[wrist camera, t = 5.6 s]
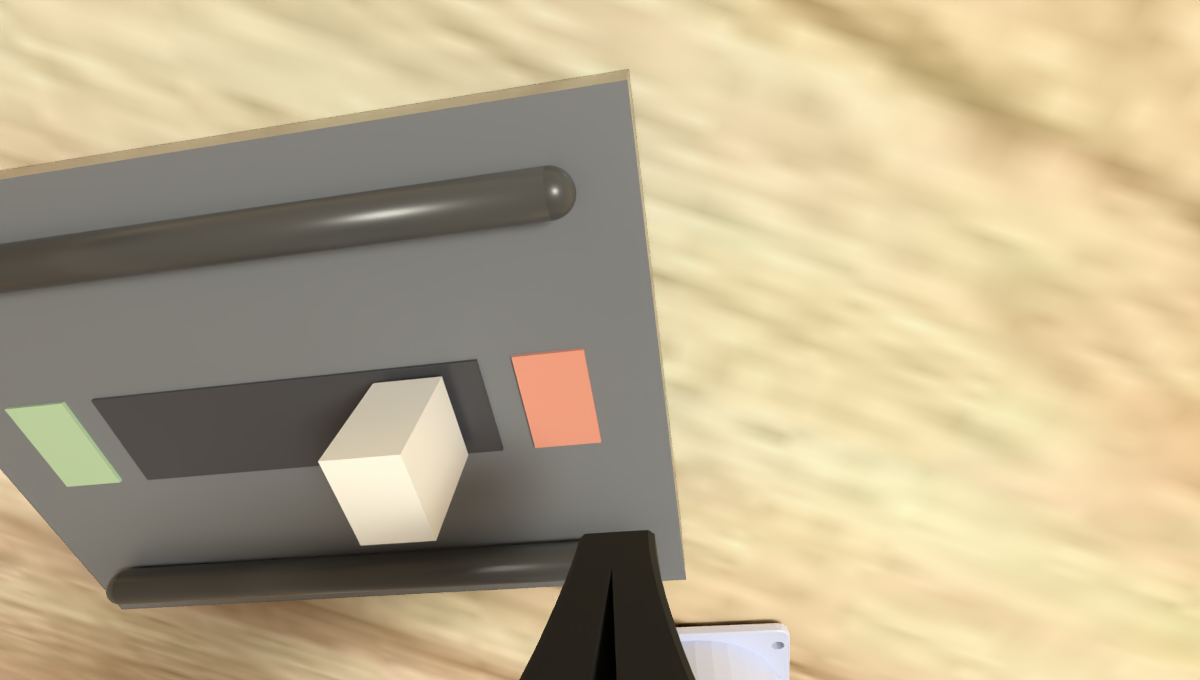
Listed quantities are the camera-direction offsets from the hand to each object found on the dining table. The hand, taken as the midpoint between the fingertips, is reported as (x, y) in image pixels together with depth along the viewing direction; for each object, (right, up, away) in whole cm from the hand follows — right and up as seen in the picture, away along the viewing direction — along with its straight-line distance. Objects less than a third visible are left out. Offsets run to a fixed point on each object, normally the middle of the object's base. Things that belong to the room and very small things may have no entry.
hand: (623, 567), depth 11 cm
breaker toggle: (-6, +2, +5) cm, 8 cm away
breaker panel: (-9, +3, +8) cm, 13 cm away
